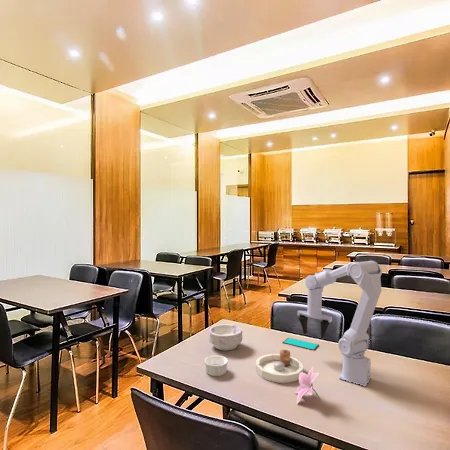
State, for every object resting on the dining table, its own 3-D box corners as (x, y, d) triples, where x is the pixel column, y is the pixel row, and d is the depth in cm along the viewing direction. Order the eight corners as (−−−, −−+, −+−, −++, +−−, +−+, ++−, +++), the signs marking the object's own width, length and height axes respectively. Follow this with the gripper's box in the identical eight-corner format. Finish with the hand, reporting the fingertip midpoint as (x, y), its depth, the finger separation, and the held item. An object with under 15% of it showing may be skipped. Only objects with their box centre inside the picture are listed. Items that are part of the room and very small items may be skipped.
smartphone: (288, 337, 156) (319, 344, 148) (288, 339, 156) (318, 346, 148) (282, 342, 150) (314, 349, 142) (282, 344, 150) (313, 351, 142)
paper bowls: (203, 343, 149) (204, 326, 149) (233, 338, 155) (233, 322, 155) (216, 356, 135) (217, 337, 135) (248, 350, 142) (248, 332, 141)
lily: (302, 387, 113) (290, 365, 112) (334, 383, 107) (321, 359, 106) (295, 415, 103) (281, 391, 102) (330, 413, 97) (316, 387, 96)
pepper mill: (291, 363, 127) (291, 351, 127) (287, 367, 124) (287, 354, 123) (282, 361, 129) (282, 348, 129) (278, 364, 126) (278, 352, 126)
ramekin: (225, 378, 117) (225, 366, 116) (201, 375, 118) (201, 364, 118) (229, 367, 125) (229, 356, 125) (207, 365, 127) (207, 354, 127)
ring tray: (309, 369, 124) (309, 362, 124) (290, 388, 110) (290, 380, 110) (269, 356, 135) (269, 350, 135) (247, 372, 121) (247, 365, 121)
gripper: (334, 304, 133) (334, 336, 134) (302, 298, 142) (301, 329, 142) (329, 308, 128) (328, 341, 128) (295, 302, 136) (294, 333, 137)
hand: (313, 335), depth 135 cm, fingers open, 7 cm apart
